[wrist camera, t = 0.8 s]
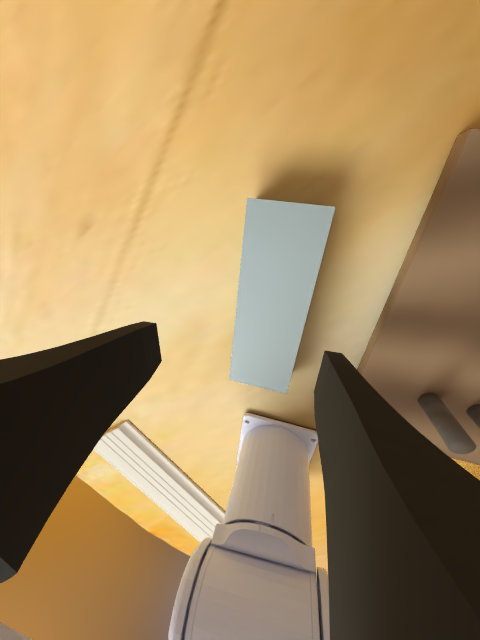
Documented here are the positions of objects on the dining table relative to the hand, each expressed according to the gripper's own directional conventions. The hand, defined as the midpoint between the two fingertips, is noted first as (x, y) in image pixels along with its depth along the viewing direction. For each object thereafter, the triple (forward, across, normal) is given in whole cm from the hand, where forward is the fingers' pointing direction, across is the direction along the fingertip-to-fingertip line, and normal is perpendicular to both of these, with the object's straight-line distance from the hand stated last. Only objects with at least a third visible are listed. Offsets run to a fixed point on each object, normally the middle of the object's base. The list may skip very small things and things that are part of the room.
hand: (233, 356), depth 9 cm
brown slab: (+10, -16, +2) cm, 19 cm away
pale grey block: (+10, -1, +1) cm, 10 cm away
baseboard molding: (+10, +10, +35) cm, 38 cm away
